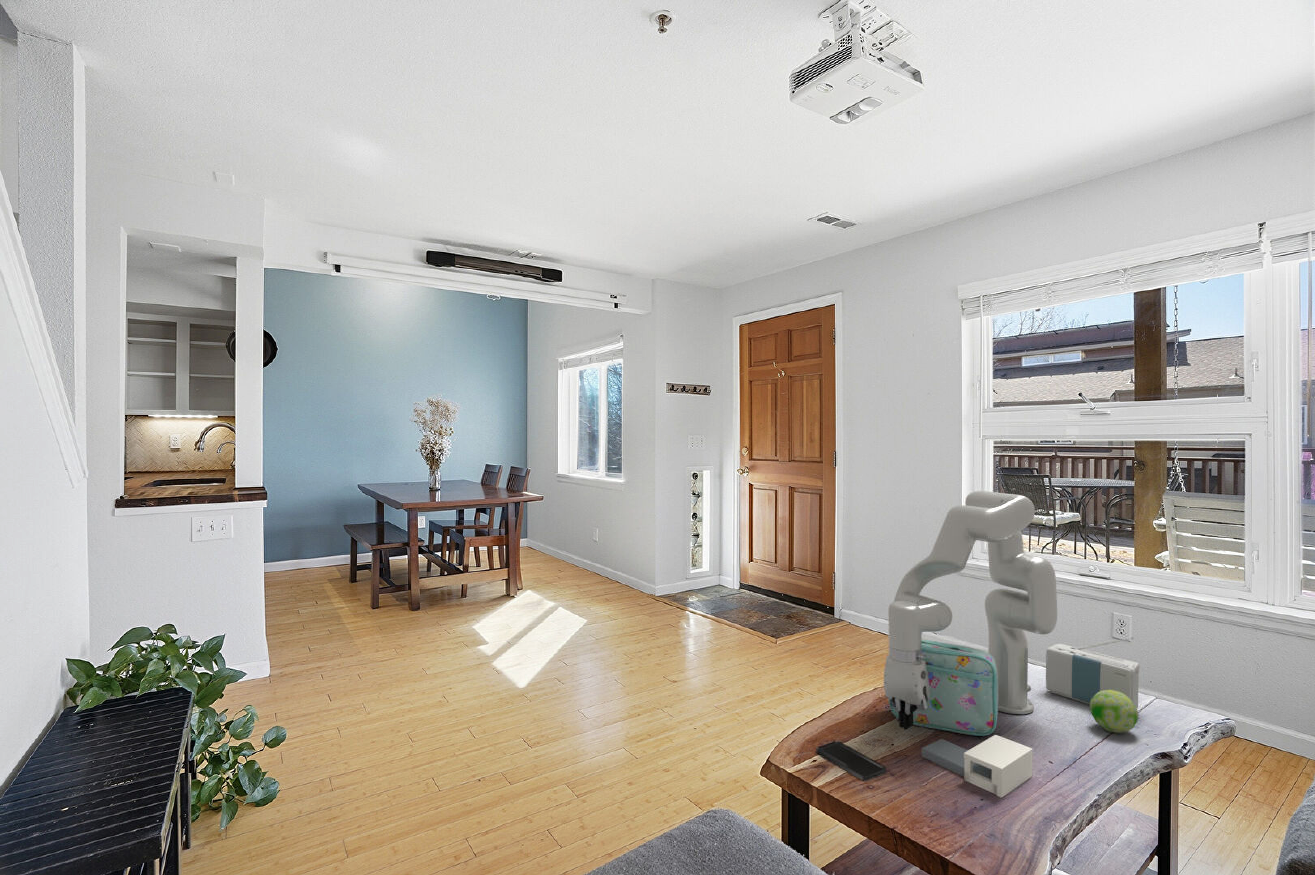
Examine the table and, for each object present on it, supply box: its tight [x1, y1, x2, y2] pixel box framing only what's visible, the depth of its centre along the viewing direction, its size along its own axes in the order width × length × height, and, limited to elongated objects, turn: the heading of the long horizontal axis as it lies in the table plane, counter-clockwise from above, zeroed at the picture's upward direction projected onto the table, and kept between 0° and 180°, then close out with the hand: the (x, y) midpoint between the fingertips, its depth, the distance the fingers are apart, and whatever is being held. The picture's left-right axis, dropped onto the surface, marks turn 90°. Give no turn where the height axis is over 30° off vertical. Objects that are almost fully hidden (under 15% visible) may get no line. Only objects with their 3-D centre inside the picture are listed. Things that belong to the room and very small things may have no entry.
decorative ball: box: [1089, 690, 1139, 734], centre depth 162 cm, size 10×10×10 cm
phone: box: [815, 740, 888, 782], centre depth 146 cm, size 8×1×15 cm
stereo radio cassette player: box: [1045, 636, 1140, 709], centre depth 179 cm, size 21×8×20 cm, turn 36°
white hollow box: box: [963, 734, 1034, 799], centre depth 140 cm, size 14×8×6 cm, turn 127°
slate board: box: [921, 738, 992, 780], centre depth 144 cm, size 8×16×2 cm, turn 34°
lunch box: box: [883, 639, 999, 737], centre depth 165 cm, size 27×10×21 cm, turn 62°
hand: (906, 727), depth 158 cm, fingers closed
